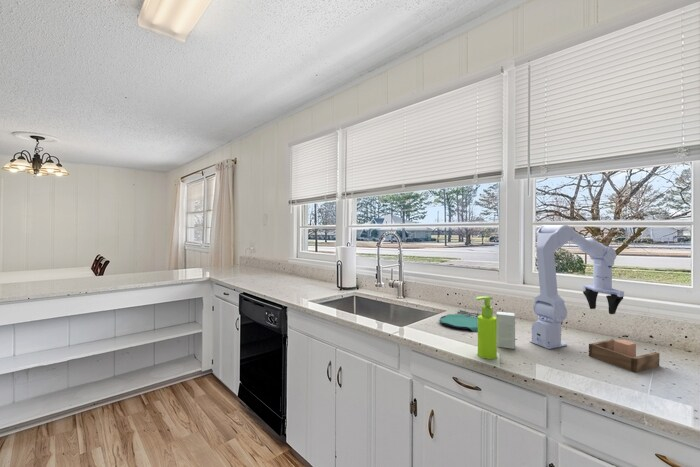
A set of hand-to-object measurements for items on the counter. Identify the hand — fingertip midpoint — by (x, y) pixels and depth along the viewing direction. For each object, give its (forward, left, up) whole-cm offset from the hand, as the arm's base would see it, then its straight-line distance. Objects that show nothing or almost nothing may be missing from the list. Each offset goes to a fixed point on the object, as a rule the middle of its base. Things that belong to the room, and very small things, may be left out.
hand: (602, 311), depth 123 cm
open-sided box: (-17, -17, -10) cm, 26 cm away
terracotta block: (-17, -17, -10) cm, 26 cm away
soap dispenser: (-56, +2, -10) cm, 57 cm away
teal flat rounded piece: (-35, +35, -11) cm, 51 cm away
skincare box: (-43, +6, -10) cm, 44 cm away
